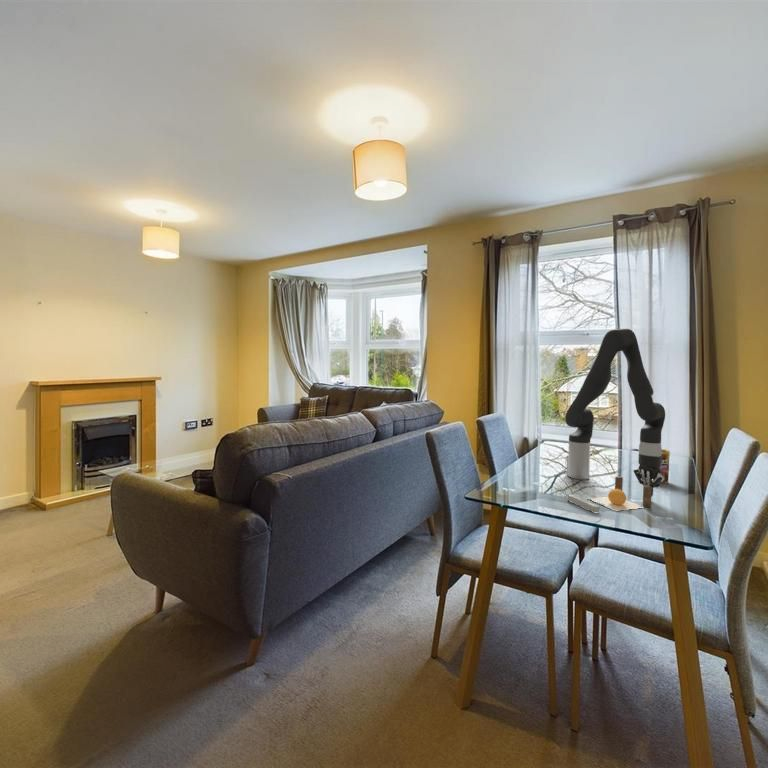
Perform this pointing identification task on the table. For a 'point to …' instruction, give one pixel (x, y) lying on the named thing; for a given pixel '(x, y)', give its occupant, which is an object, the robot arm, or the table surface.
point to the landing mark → (625, 506)
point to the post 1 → (618, 482)
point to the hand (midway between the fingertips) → (648, 496)
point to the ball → (617, 497)
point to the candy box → (665, 464)
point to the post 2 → (647, 496)
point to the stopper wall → (583, 503)
